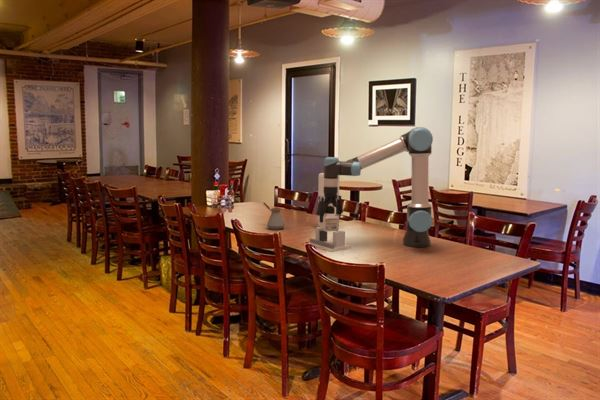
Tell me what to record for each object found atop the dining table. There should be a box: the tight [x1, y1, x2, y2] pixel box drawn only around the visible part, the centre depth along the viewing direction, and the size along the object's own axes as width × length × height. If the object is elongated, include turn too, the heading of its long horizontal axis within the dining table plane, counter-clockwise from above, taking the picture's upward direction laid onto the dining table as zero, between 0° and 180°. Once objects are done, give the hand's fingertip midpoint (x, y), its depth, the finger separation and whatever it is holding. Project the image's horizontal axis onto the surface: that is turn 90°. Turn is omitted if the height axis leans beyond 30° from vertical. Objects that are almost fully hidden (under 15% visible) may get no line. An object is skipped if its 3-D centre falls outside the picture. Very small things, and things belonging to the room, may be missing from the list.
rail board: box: [308, 226, 352, 253], centre depth 285 cm, size 19×14×10 cm
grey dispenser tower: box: [317, 172, 340, 227], centre depth 333 cm, size 11×11×35 cm
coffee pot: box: [262, 202, 286, 231], centre depth 336 cm, size 21×12×15 cm, turn 34°
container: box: [321, 206, 340, 232], centre depth 284 cm, size 8×8×13 cm
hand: (329, 227), depth 284 cm, fingers closed on container, 9 cm apart
